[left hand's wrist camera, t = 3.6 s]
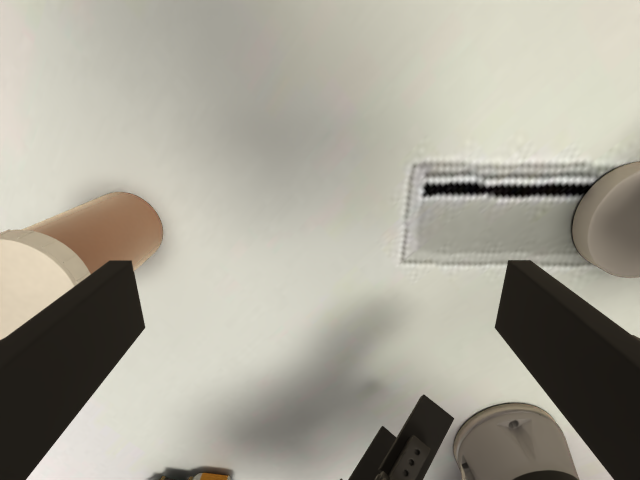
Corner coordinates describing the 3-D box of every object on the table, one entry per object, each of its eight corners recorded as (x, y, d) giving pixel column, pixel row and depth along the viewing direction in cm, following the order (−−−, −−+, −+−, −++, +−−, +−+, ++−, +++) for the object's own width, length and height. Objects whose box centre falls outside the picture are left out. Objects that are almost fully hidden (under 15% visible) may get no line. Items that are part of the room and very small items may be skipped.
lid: (118, 316, 29) (104, 331, 27) (21, 346, 30) (1, 362, 28) (54, 213, 26) (34, 222, 24) (-51, 250, 27) (-79, 261, 25)
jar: (175, 248, 42) (99, 324, 28) (112, 269, 43) (7, 352, 29) (141, 181, 40) (36, 226, 25) (74, 205, 40) (-64, 261, 26)
